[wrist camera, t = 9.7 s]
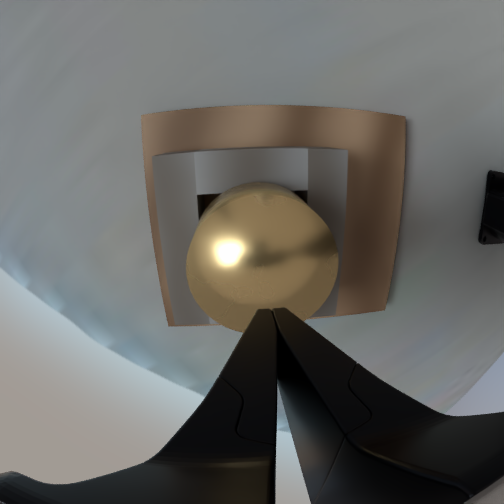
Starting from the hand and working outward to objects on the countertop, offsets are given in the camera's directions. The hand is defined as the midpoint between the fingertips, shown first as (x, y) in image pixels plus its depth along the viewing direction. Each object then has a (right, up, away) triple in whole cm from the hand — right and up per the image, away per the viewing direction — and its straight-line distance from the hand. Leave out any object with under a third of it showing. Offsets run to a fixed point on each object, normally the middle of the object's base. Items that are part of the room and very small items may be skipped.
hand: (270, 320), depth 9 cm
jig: (+1, +4, +10) cm, 11 cm away
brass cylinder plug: (0, +4, +9) cm, 10 cm away
